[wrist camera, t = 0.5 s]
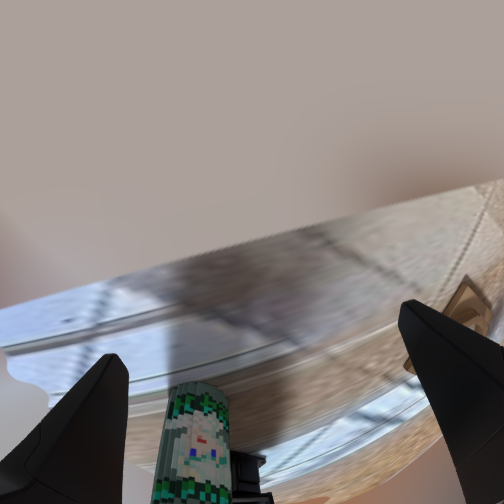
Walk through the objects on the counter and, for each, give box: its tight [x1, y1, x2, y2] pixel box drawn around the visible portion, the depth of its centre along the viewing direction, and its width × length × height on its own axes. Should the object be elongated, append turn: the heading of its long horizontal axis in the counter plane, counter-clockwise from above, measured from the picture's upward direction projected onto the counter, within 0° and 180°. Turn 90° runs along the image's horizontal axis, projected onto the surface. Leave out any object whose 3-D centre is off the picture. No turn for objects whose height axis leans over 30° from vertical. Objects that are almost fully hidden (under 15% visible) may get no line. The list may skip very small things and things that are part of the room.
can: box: [150, 381, 232, 504], centre depth 20 cm, size 6×6×15 cm
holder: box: [403, 283, 494, 375], centre depth 27 cm, size 12×10×3 cm
